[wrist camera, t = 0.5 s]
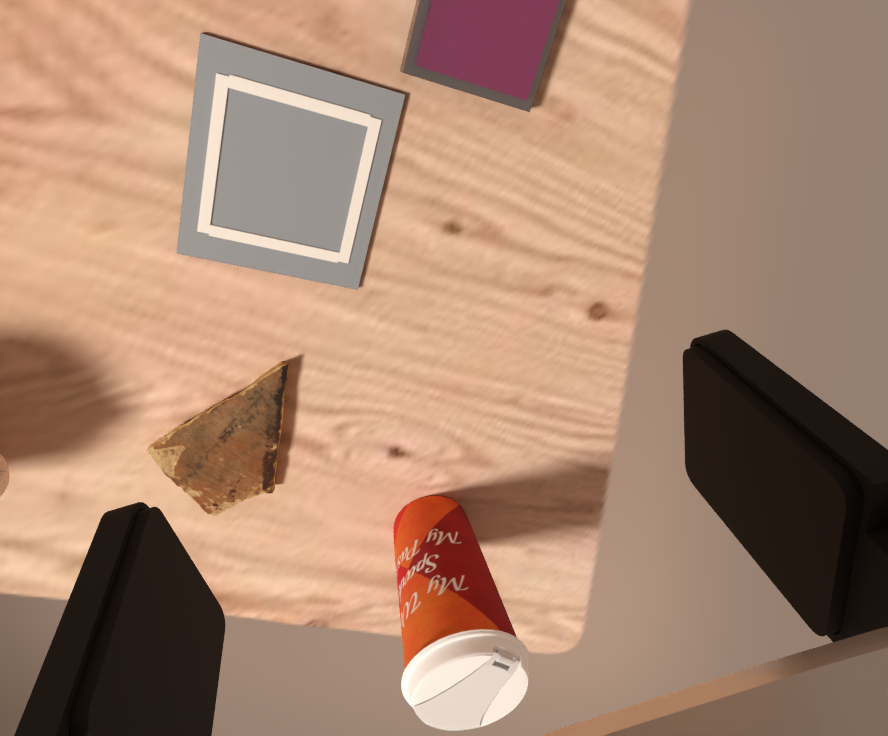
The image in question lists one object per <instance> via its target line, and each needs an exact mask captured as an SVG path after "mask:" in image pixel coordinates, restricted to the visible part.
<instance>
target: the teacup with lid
mask: <svg viewBox="0 0 888 736" xmlns="http://www.w3.org/2000/svg"><path fill="white" fill-rule="evenodd" d="M8 482H9V469H8V465H7V462H6V460H5V458H4V457H3V456H2V455H1V454H0V496H1V495H2V494H3V493H4V491H5V490H6V488H7V485H8Z"/></svg>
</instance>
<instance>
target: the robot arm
mask: <svg viewBox="0 0 888 736" xmlns="http://www.w3.org/2000/svg"><path fill="white" fill-rule="evenodd" d="M683 389H684V433H685V466H686V471H687V474H688V477H689V478H690V481H691V482H692V484H693V485H694V486H695V488H696V489H697V490H698V491H699V492H700V494H701V495H702V496H703V497H704V499H705V500H706V501H707V502H708V504H709V505H710V506H711V507H712V509H713V510H714V511H715V512H716V513H717V514H718V516H719V517H720V518H721V519H722V520H723V522H724V523H725V524H726V526H727V527H728V528H729V529H730V531H731V532H732V533H733V534H734V535H735V537H736V538H737V539H738V540H739V542H740V543H741V544H742V545H743V547H744V548H745V549H746V550H747V551H748V553H749V554H750V555H751V556H752V558H753V559H754V560H755V561H756V562H757V564H758V565H759V566H760V567H761V569H762V570H763V571H764V572H765V573H766V575H767V576H768V577H769V578H770V580H771V581H772V582H773V583H774V584H775V586H776V587H777V588H778V589H779V591H780V592H781V593H782V594H783V595H784V597H785V598H786V599H787V600H788V602H789V603H790V604H791V605H792V607H793V608H794V609H795V610H796V612H797V613H798V614H799V615H800V616H801V618H802V619H803V620H804V621H805V623H806V624H807V625H808V626H809V627H810V628H811V629H812V631H813V632H815V633H816V634H817V635H819V636H825V635H827V636H828V637H829V638H830V639H831V640H832V641H833V643H830V644H826V645H823V646H820V647H817V648H813V649H810V650H806V651H803V652H800V653H796V654H793V655H790V656H786V657H783V658H780V659H777V660H774V661H770V662H767V663H764V664H761V665H758V666H754V667H751V668H748V669H745V670H742V671H739V672H736V673H733V674H729V675H727V676H723V677H720V678H717V679H714V680H711V681H707V682H705V683H701V684H699V685H695V686H692V687H689V688H686V689H683V690H680V691H676V692H673V693H670V694H667V695H664V696H661V697H657V698H654V699H651V700H648V701H645V702H642V703H639V704H635V705H632V706H629V707H626V708H623V709H620V710H617V711H614V712H611V713H608V714H604V715H601V716H598V717H595V718H592V719H589V720H586V721H583V722H580V723H577V724H574V725H571V726H568V727H564V728H561V729H558V730H555V731H552V732H549V733H546V734H543V735H540V736H888V450H887V449H886V448H884V447H883V446H882V445H880V444H879V443H878V442H876V441H875V440H874V439H872V438H871V437H870V436H868V435H867V434H866V433H865V432H863V431H862V430H861V429H859V428H858V427H857V426H855V425H854V424H853V423H851V422H850V421H849V420H847V419H846V418H845V417H843V416H842V415H841V414H840V413H838V412H837V411H835V410H834V409H833V408H832V407H830V406H829V405H828V404H826V403H825V402H824V401H822V400H821V399H819V398H818V397H817V396H816V395H814V394H813V393H812V392H810V391H809V390H808V389H806V388H805V387H804V386H803V385H801V384H800V383H799V382H797V381H796V380H794V379H793V378H792V377H791V376H789V375H788V374H786V373H785V372H784V371H783V370H781V369H780V368H778V367H777V366H776V365H775V364H773V363H772V362H771V361H769V360H768V359H767V358H766V357H764V356H763V355H761V354H760V353H759V352H758V351H756V350H755V349H754V348H752V347H751V346H750V345H748V344H747V343H746V342H744V341H743V340H742V339H740V338H739V337H738V336H736V335H735V334H734V333H732V332H731V331H729V330H721V331H718V332H714V333H711V334H708V335H704V336H701V337H698V338H695V339H693V340H692V342H691V346H690V348H689V349H686V350H685V351H684V353H683ZM224 634H225V619H224V614H223V610H222V608H221V606H220V604H219V603H218V601H217V600H216V598H215V596H214V595H213V593H212V592H211V590H210V588H209V587H208V585H207V584H206V582H205V580H204V579H203V577H202V576H201V574H200V572H199V571H198V569H197V568H196V566H195V564H194V563H193V561H192V560H191V558H190V556H189V555H188V553H187V552H186V550H185V548H184V547H183V545H182V544H181V542H180V540H179V539H178V537H177V536H176V534H175V532H174V531H173V529H172V528H171V526H170V524H169V523H168V521H167V519H166V518H165V516H164V515H163V513H162V512H161V510H160V509H159V508H157V507H152V508H149V507H148V506H147V505H146V504H145V503H143V502H138V503H135V504H132V505H128V506H125V507H121V508H118V509H115V510H111V511H108V512H106V513H105V514H104V515H103V516H102V518H101V520H100V523H99V525H98V528H97V530H96V533H95V535H94V538H93V540H92V543H91V545H90V548H89V550H88V553H87V555H86V558H85V560H84V563H83V565H82V568H81V570H80V573H79V575H78V578H77V580H76V583H75V585H74V588H73V590H72V593H71V595H70V598H69V600H68V603H67V606H66V608H65V611H64V613H63V615H62V618H61V620H60V623H59V625H58V628H57V630H56V633H55V636H54V638H53V640H52V643H51V645H50V648H49V650H48V653H47V655H46V658H45V660H44V663H43V665H42V668H41V670H40V673H39V675H38V678H37V680H36V683H35V685H34V688H33V690H32V693H31V696H30V698H29V700H28V703H27V705H26V708H25V710H24V713H23V716H22V718H21V720H20V723H19V725H18V728H17V730H16V733H15V735H14V736H211V734H212V727H213V719H214V711H215V703H216V694H217V688H218V680H219V672H220V665H221V657H222V649H223V641H224Z"/></svg>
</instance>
